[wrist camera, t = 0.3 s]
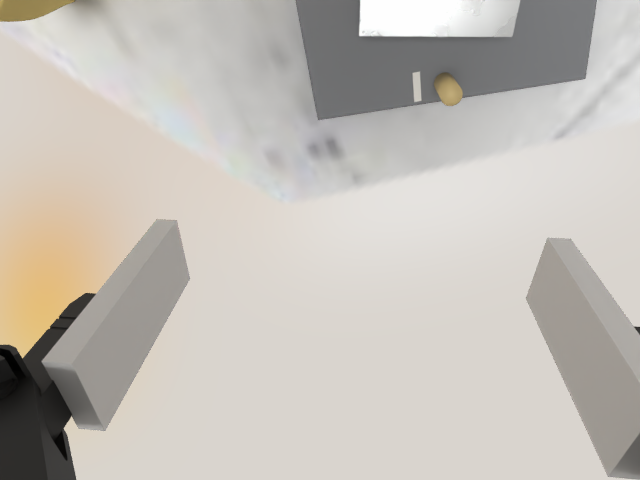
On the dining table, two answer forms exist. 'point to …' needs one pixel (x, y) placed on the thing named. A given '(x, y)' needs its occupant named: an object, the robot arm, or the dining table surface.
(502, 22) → the handled square frame
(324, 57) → the jig
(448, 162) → the dining table surface
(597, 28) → the dining table surface
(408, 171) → the dining table surface
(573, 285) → the robot arm
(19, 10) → the cheese
